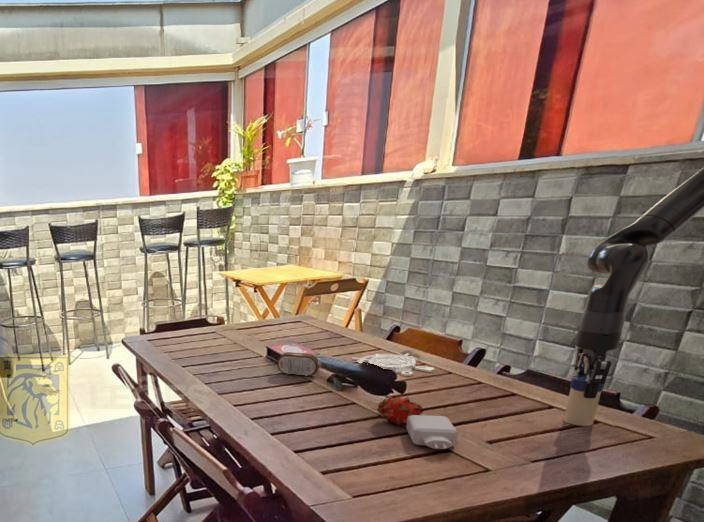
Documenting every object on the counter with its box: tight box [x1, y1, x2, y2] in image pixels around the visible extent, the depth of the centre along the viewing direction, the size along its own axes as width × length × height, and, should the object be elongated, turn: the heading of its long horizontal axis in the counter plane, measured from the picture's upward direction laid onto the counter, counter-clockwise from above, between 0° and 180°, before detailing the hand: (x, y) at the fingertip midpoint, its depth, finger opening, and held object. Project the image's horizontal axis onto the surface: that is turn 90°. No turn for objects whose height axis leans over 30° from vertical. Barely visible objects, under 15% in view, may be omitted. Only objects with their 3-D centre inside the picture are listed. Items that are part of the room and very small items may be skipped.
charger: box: [405, 414, 459, 450], centre depth 123 cm, size 5×9×15 cm
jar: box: [563, 387, 602, 427], centre depth 125 cm, size 6×6×11 cm
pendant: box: [351, 352, 436, 377], centre depth 183 cm, size 21×28×1 cm
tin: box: [276, 351, 321, 377], centre depth 183 cm, size 15×3×8 cm, turn 52°
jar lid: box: [569, 374, 605, 392], centre depth 123 cm, size 6×6×2 cm
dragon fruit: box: [376, 395, 425, 426], centre depth 136 cm, size 8×8×12 cm
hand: (584, 393), depth 124 cm, fingers closed on jar lid, 6 cm apart
